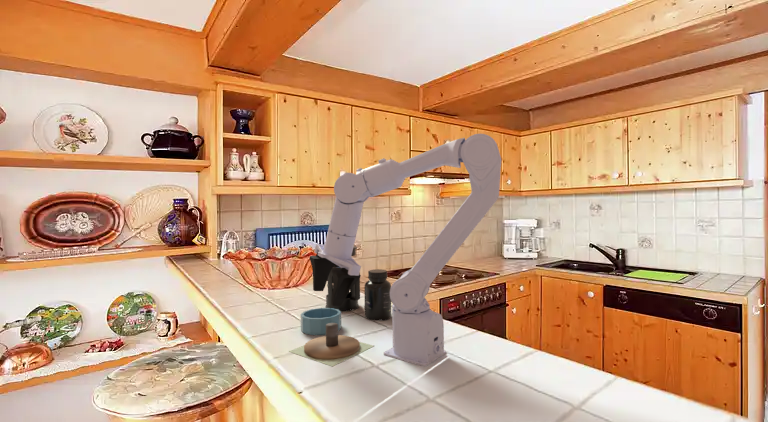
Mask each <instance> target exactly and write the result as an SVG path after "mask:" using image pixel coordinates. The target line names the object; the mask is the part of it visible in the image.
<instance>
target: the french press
mask: <svg viewBox="0 0 768 422" xmlns="http://www.w3.org/2000/svg"><path fill="white" fill-rule="evenodd" d="M357 249H358V247H357V246H355V245H354V247H353V251H352V255H351V257H354V256H356V254H357V253H356V250H357ZM332 270H342V268H341V267H339V266H337V265H336V264H334V266H333V267H332V269H331V271H330V274H329V276H328V279H327V283H326V287H327V294H326V295H325V306H324V308H334V309H338V310H339V311H341V313H342V312H351V311H355V310H357V309H358V308H359V306H360V303H359V300H360V299H361V278H360V279H359V280H358V281H357V282H356V283H355V284H354V285H353V287H352V288H351V289H350V291H349V293H348V294H347V296H346V298H345V300H344V302H343V304H342V306H333V305H331V299H332V292H333V275H332ZM359 274H360V275H361V271H360V272H359Z"/></svg>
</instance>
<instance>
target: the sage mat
mask: <svg viewBox="0 0 768 422" xmlns="http://www.w3.org/2000/svg"><path fill="white" fill-rule="evenodd" d="M359 343H360V349H359V351H358V352H356V353H355V354H353V355H351V356H348V357H345V358H340V359H333V360H322V359H315V358H311V357H309V356H307V355H306V354H305V353H304V345H302V346H299V347H297V348H294V349H291V350H288V353H291V354H295V355H298V356H300V357H303V358H306V359H309V360H312V361H315V362H318V363H320V364H323V365H327V366H329V367H334V366H336V365H339V364H341V363H342V362H345V361H347V360H349V359H351V358H353V357H355V356H357V355H359V354H361V353H364V352H365V351H367V350H369V349H371V348H374V347H375V345H372V344H369V343H365V342H361V341H359Z"/></svg>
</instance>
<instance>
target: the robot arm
mask: <svg viewBox="0 0 768 422" xmlns="http://www.w3.org/2000/svg"><path fill="white" fill-rule="evenodd" d="M377 162H378V163H376V164H374V165H371V166H369V167H367V168H364V169H363V168H362V167H360V168H356V174H355V173H352V172H345V173H344V174H342V175H340V176H339V177H338V178H337V179H336V180H335V182H334V186H333V192H334V195H335V199H334V200H335V201H334V205H333V209H332V212H331V217H330V220H329V224H328V229H327V234H326V239H325V243H324V244H319V243H315V246H314V247H315V248H314V251H313V252H314V254H315V255H310V256H309V261H310V264H311V269H312V289H313V291H314V292H324V290H325V288H326V286H327V283H328V276H329V274H330V271H331V269H332V267H333V266H334V264H336V265H337V266H339V267H341V268H342V270H332V275H333V292H332V299H331V305H333V306H342V304H343V302H344V300H345V298H346V296H347V294H348V293H349V292H350V289H351V288H352V287H353V285H354V284H355V283H356V282H357V281H358V280H359V279H360V280H361V276H362V275H361V267H362V265H360V264H359V263H357V262H356V260H355V259H354V258H353V256H351V255H352V251H353V247H354V246H355V242H356V238H357V234H358V229H359V225H360V221H361V218H362V217H361V216H362V213H363V212H362V211H363V208H364V207H363V206H364V203H365V202H366V201H367V200H368V199H369V198H374V197H377V196H379V195H382V194H384V193H388V192H390V191H394V190H396V189H399V188H402V186H403V183H404V182H405V180H406V179H407V178H410V177H413V176H416V175H419V174H422V173H425V172H428V171H431V170H434V169H437V168H441V167H444V166H447V167H452V168H458V169H461V167H462V165H461V163H463V165H464V167H465V169H466V171H467V172H468V174H469V176H468V177H469V184H470V189H471V193H470V194H469V195H468V197H466V199H465V200H464V201H463V203H462V204H461V205H460V207H459V208H458V209H457V211H455V213H454V214H453V215H452V217H451V218H450V220H449V221H448V222H447V223H446V225H445V226H444V227H443V229H442V230H441V231H440V232H439V234H437V236H436V237H435V238H434V240H433V242H432V243H431V244H430V245H429V246H428V247H427V248H426V250H425V252H424V253H423V254H422V255H421V257H420V258H419V259H418V261H416V263H415V264H414V265H413V266H412V267H411V268H410V269H408V270H406V271H405V272H403V273H402V274H401V275H400V277H399V278H398V279H396V280H395V281H394V282H393V283H392V284H391V289H390V299H391V317H392V326H391V327H392V347H391V348H389V349H386V351H383V355H384V356H385V357H389V358H393V359H397V360H401V361H404V362H408V363H410V364H414V365H418V366H421V367H427V366H428V365H431V363H433V362H434V361H436V360H437V359H439V358H441V357H442V356H444V355H445V354H446V353H447V352H446V350H445V346H444V345H445V341H444V338H445V335H444V331H445V330H444V326H445V324H444V319H443V315H442V314H441V313H439V312H436V311H433V309H431V308H430V307H431V306H430V303H429V302H428V300H427V299H426V296H427V295H428V293H429V290H430V286H431V284H432V283H433V282H434V280H435V279H436V278H437V276H438V275H439V273H441V271H442V269H443V268H444V267H445V266H446V264H448V262H449V261H450V260H451V259H452V257H453V256H454V255H455V254H456V252H457V251H458V249H459V248H460V247H461V246H462V245H463V243H465V241H466V240H467V238H468V237H469V236H470V235H471V233H472V232H473V230H475V228H476V227H477V226H478V225H479V223H480V222H481V221H482V220H483V218H485V216H486V214H488V213H489V210H491V208H492V207H493V206H494V205H495V203H497V201H498V199H499V196H500V189H501V188H500V184H501V168H502V156H501V154H500V149H499V147H498V143H497V141H496V140H495V139H494V138H493V137H492V136H490V135H488V134H485V133H475V134H472V135H469V137H468V138H465V137H462V138H457V139H453V140H452V141H448V142H446V143H444V144H441V145H439V146H435V147H433V148H432V149H429V150H426V151H425V152H423V153H419V154H417V155H415V156H412V157H410V158H408V159H405V160H402V161H401V162H398V161H396V160H394V159H392V158H391V159H386V158H381V159H379V160H378V161H377ZM359 272H360V274H359Z"/></svg>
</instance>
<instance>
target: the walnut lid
mask: <svg viewBox="0 0 768 422" xmlns="http://www.w3.org/2000/svg"><path fill="white" fill-rule="evenodd" d="M359 342H360V341H359V340H358V339H357V338H355V337H352V336H348V335H342V334H341V335H340V334H339V331H338V324H337V323H328V324H326V335H321V336H318V337H315V338H312V339H310V340H308V341H307V342H306V343H305V344H304V345H303V346H304V353H305V354H306V355H307V356H309V357H311V358H315V359H322V360H333V359H340V358H345V357H348V356H351V355H353V354H355V353H356V352H358V351H359V349H360V343H359Z"/></svg>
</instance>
